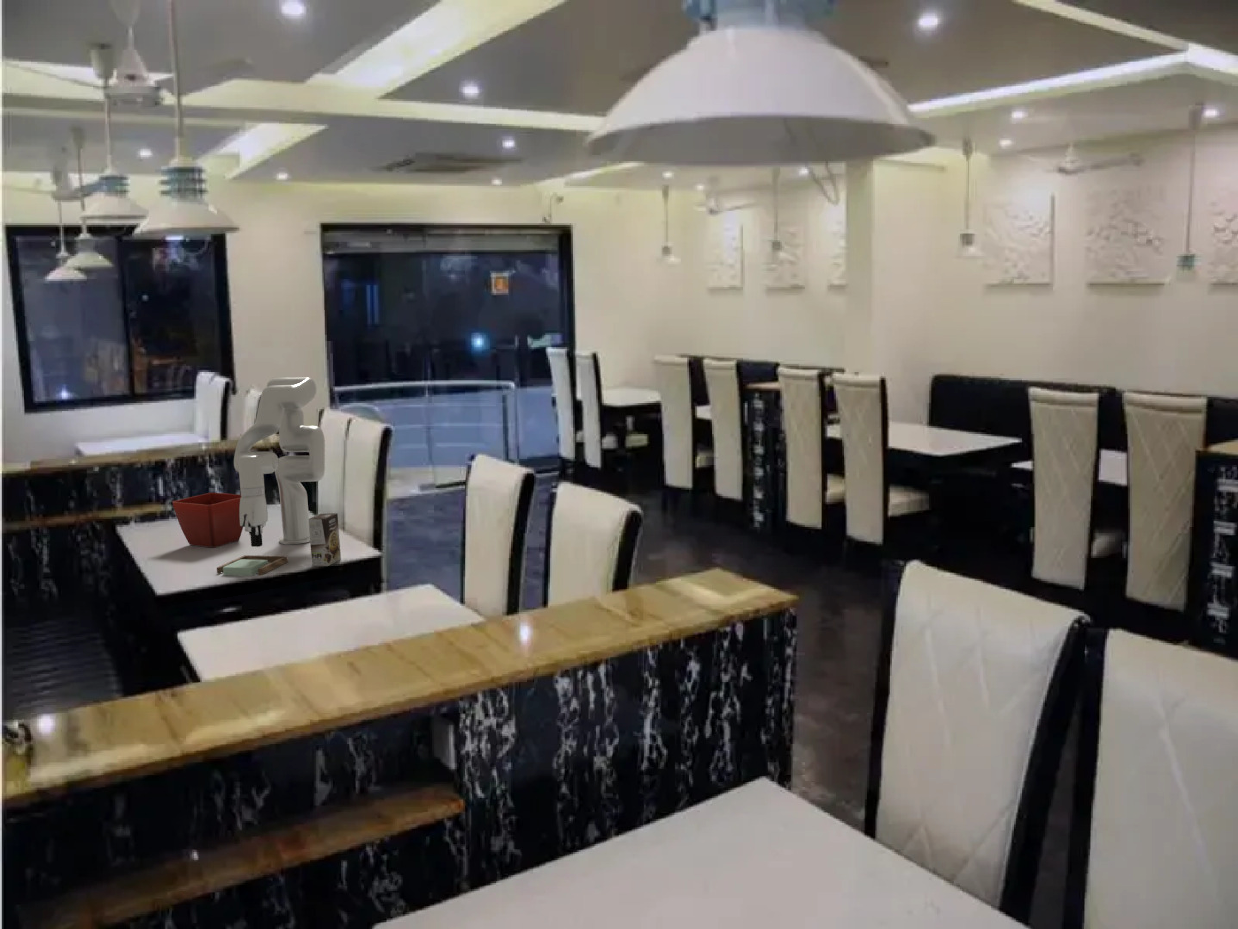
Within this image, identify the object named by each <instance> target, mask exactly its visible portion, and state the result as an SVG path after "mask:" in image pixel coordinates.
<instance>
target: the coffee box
mask: <svg viewBox="0 0 1238 929" xmlns="http://www.w3.org/2000/svg"><path fill="white" fill-rule="evenodd" d="M309 532H310V542H309V543H310V546H309V547H310V555H311V566H315V567H316V566H317V567H319V566H321V567H328V566H331V565H333V564H335V563H336V562H338V561H340V560H342V554H341V553H342V552H341V542H340V529H339V516H338V513H336V512H335V513H330V512H329V513H328V512H327V513H320V514H316V515H314V516H312V517H309Z"/></svg>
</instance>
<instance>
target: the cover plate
mask: <svg viewBox="0 0 1238 929" xmlns="http://www.w3.org/2000/svg"><path fill="white" fill-rule="evenodd" d="M267 564H269V562H268V560H247V559H240V560H238V561H236V562H233V563H231V564H229V565H227V566H224V567H223V573H222V574H223V575H224V574H225V575H224V576H243V575H252V576H254V575H256V574H257V573H256V572H258V569H259V568H261V567H263V566H265V565H267ZM255 573H256V574H255ZM253 574H254V575H253Z"/></svg>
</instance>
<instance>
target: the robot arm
mask: <svg viewBox="0 0 1238 929" xmlns="http://www.w3.org/2000/svg"><path fill="white" fill-rule="evenodd" d="M316 395H317V385H316V382H315V380H314V379H313V378H311V377H307V376H306V377H305V376H304V377H303V376H302V377H301V376H300V377H275V378H272V379H270V380H269V381H268V382H267V384H266V387H264V388H263V390H262V391H261V395H260V400H259V403H258V408H257V413H256V419H255V423H254V424H253V425H252V426H251V427H249V428H247V430H246V431H245V432H244V433H243V435H242V436H241V437H240V438H239V439H238V441H237V443H236V446H235V447H236V448H235V452H234V457H233V467H234V469H235V471H236V472H237V473H238V475H239V487H240V488H239V490H240V495H241V498H240V526H241V527H243V528H244V532H248V534H249V536H250V546H251V547H257V548H259V547H262V546H263V536H262V534H263V532H264V531H263V530H264V527H265V526H266V524H267V522H268V521H269V519H268V518H269V512H268V505H267V504H268V503H267V499H266V493H265V490H266V489H265V477H264V475H266V474H268V475H269V474H273V473H274V474H275V478H276V482H277V486H278V492H279V502H280V514H281V526H282V535H283V536H281V537H280V538H279V539H278V541H279V543H280V544H283V545H299V544H305V543H310V532H309V518H310V517H309V516H310V515H309V505H308V504H309V503H308V493H307V490H306V488H305V487H304V486H303V484H302V483H304V482H309V483H310V482H319V481H321V480H322V479H323V478H324V476H325V470H326V469H325V468H326V466H325V465H326V464H325V462H326V461H325V459H326V457H325V455H326V454H325V451H326V450H325V446H326V443H325V442H326V441H325V435H324V431H323V430H322V428H321V427H319V426H318V425H305V424H304V423H305V422H304V420H305V419H304V411H303V409H302V408H304V407H305V406H306V405H308V404H309V403H310V402H311V401H313V399H314V398H315V396H316ZM277 433H278V437H279V438H278V439H279V440H278V443H279V446H280V449H281V450H282V451H283V452H287V453H289V452H290V453H309V455H285V456H280V457H278V455H277V454H276V453H275V452H272V451H250V450H252V448H253V446H254V445H256V444H257V443H258V442H260V441H262V440H264V439H266V438H270V437H271V436H273V435H275V434H277Z"/></svg>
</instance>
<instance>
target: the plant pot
mask: <svg viewBox="0 0 1238 929" xmlns="http://www.w3.org/2000/svg"><path fill="white" fill-rule="evenodd" d="M240 498H241V494H236V493H235V494H234V493H225V492H223V493H222V492H208V493H204V494H200V495H196V496H195V495H194V496H190V497H187V498H182V499H178V500H174V501H173V500H172V503H171V504H172V507H173V509H174V510H173V511H174V513H175V516H176V519H177V522H178V524H179V526H180V529H181V531H182V533H183V535H184V537H185V539H186V541H187V542H188V544H189V545H190V546H198V547H206V548H212V547H213V548H217V546H218V547H221V546H224V545H228V544H230V543H231V544H232V543H234V542H238V541H240V539H241V537H242V532H243V530H244V529H243V528H244V527H241V526H240Z"/></svg>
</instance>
